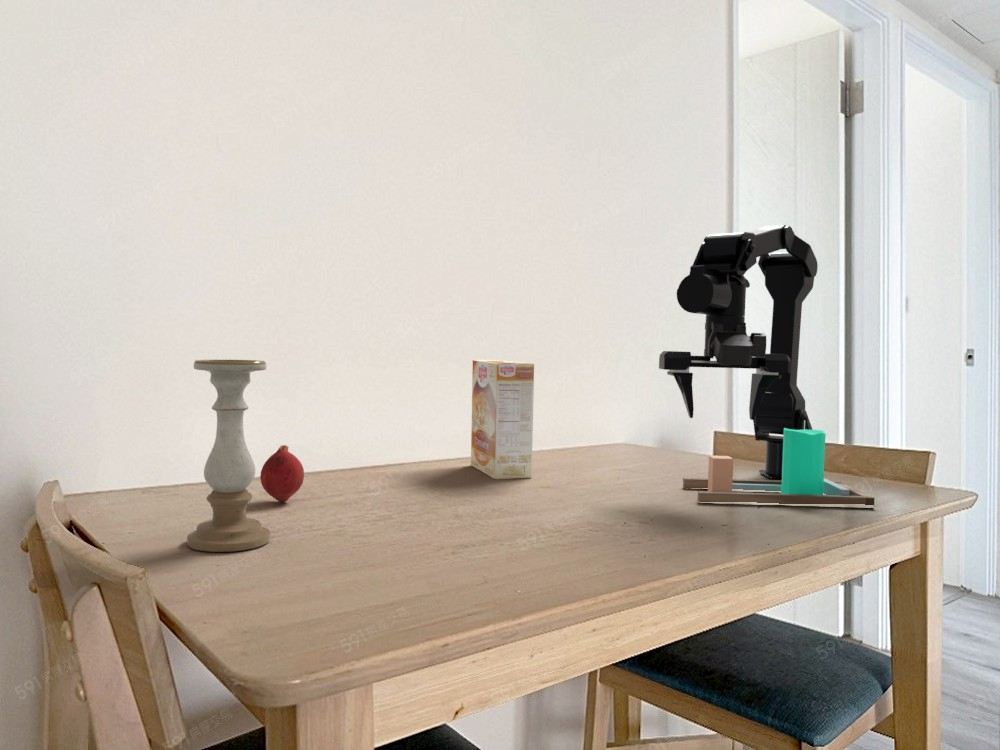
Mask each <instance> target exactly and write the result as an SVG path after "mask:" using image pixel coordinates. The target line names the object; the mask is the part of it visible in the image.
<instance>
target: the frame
mask: <svg viewBox="0 0 1000 750" xmlns="http://www.w3.org/2000/svg"><path fill="white" fill-rule="evenodd" d="M707 471H708V472H707V473H708V474H707V478H708V490H707V492H732V489H743V490H765V491H781V485H775V484H741V483H733V479H734V476H733V475H734V458H732V457H731V456H729V455H708V470H707ZM834 482H835V481H832V480H830V479H827V478H825V477H824V482H823V493H824V494H826V495H844V496H849V489H847V488H845V487H842V486H840V485H838V484H836V483H834Z"/></svg>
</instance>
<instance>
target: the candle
mask: <svg viewBox="0 0 1000 750" xmlns="http://www.w3.org/2000/svg"><path fill="white" fill-rule="evenodd" d="M782 436H783V459H782V479H781V481H782V485H781V493H780V494H810V495H823V482H824V478H825V476H824V475H825V458H826V457H825V455H826V454H825V452H826V432H825V430H821V429H820V430H819V429H813V430H808V429H805V420H804V430H793V429H787V428H784V433H783V435H782Z"/></svg>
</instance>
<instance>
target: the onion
mask: <svg viewBox="0 0 1000 750" xmlns="http://www.w3.org/2000/svg"><path fill="white" fill-rule="evenodd" d="M304 478H305V470H304V467H303V464H302V463H301V461H300V460H299V458H297V456H296V455H294V454H293V453H291V452H289V446H288V445H286V444H281V445H280V446H279V447H278V449H277V451H276V452H275V453H273V454H272V455H270V456H269V457H268V458H267V460H266V461H265V462H264V463H263V466H262V467H261V470H260V483H261V485H262V486H261V487H262V488H263V489H264V490H265V492H266V493H267V494H268V495H269V496H271V497H272V498H273V499H275V500H276V501H278V503H285V502H287V501H288V500H289V499H290V498H291V497H292V496H293V495H295V494H297V492H298V491H299V490H300V489H301V487H302V485H303V483H304Z"/></svg>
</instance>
